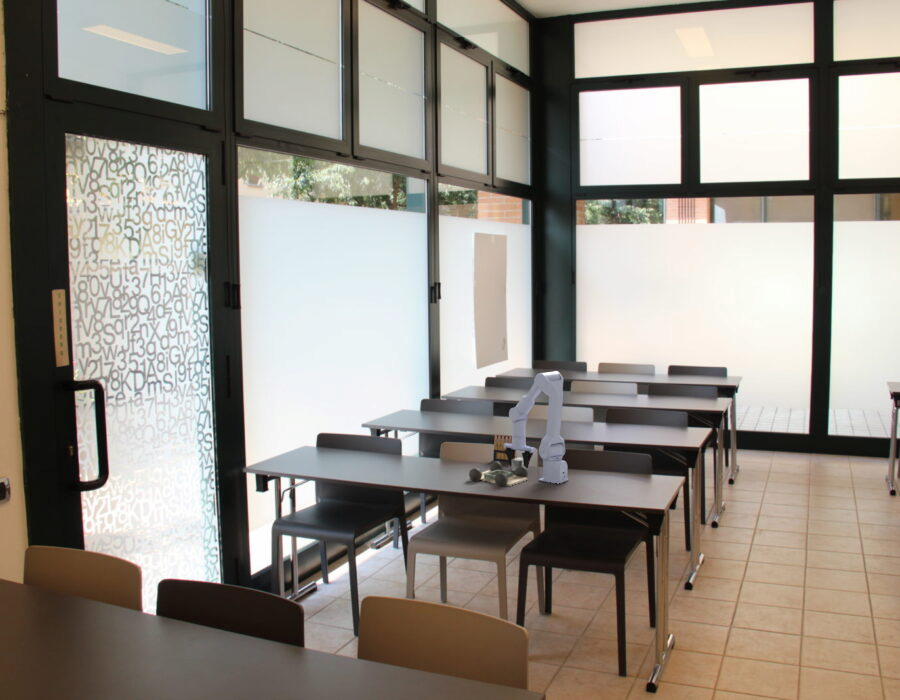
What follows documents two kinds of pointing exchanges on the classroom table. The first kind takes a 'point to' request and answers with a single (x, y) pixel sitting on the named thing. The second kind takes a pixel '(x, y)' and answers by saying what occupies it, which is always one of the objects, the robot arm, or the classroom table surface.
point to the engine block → (517, 463)
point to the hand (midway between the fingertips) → (518, 467)
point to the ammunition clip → (501, 449)
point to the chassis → (500, 475)
